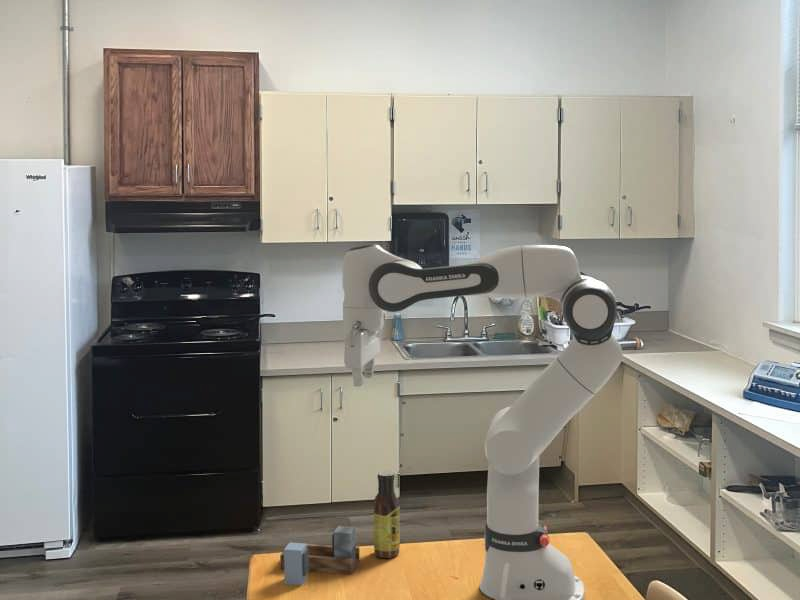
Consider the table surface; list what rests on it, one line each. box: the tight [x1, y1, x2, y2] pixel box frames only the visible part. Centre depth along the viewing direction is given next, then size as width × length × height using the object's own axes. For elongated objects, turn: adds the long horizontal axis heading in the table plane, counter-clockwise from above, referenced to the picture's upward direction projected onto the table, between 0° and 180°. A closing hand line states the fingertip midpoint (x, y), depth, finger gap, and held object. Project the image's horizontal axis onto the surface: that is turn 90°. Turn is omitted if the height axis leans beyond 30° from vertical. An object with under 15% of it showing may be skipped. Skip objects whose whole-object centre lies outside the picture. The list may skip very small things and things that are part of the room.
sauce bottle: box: [372, 470, 401, 559], centre depth 209 cm, size 6×6×20 cm
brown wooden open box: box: [279, 525, 361, 575], centre depth 204 cm, size 17×8×9 cm, turn 79°
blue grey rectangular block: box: [283, 542, 310, 586], centre depth 196 cm, size 5×4×8 cm
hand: (363, 381), depth 192 cm, fingers open, 8 cm apart
